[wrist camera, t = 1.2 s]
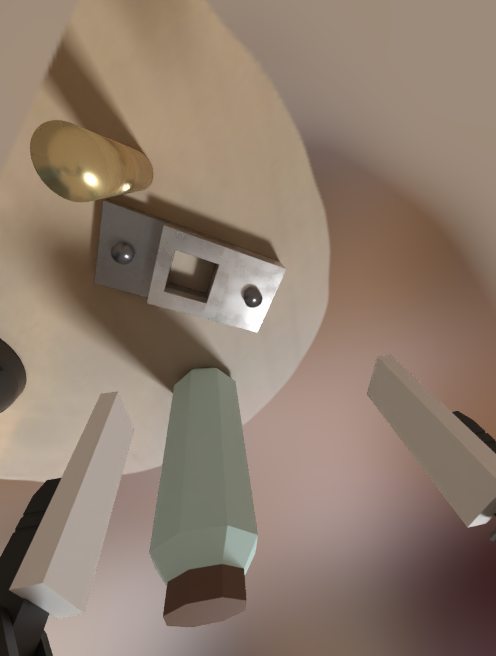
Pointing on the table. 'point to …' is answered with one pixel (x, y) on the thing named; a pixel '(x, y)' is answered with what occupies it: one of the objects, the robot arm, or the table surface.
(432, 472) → the robot arm
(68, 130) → the pin
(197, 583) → the water bottle
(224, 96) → the table surface
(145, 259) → the chain ends
